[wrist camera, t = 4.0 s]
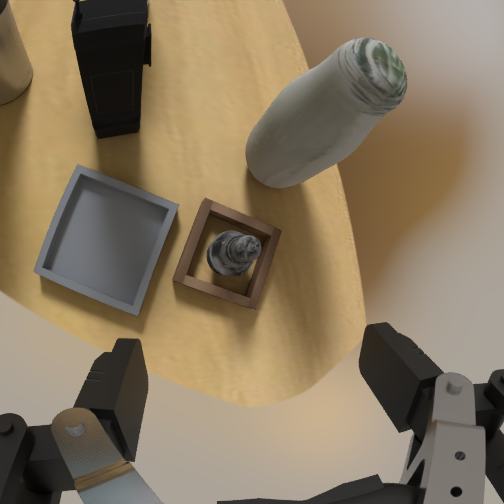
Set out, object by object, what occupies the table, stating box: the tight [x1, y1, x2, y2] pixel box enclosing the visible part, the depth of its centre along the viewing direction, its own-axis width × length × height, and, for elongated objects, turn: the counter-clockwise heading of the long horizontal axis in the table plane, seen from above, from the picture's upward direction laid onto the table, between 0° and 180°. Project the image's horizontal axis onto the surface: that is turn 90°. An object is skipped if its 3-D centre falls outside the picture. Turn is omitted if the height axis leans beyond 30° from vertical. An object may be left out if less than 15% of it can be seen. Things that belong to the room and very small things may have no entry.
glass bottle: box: [246, 38, 407, 188], centre depth 34 cm, size 10×10×28 cm
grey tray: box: [34, 164, 179, 316], centre depth 38 cm, size 15×15×2 cm
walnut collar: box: [173, 198, 282, 310], centre depth 43 cm, size 11×11×2 cm
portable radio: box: [71, 0, 151, 139], centre depth 29 cm, size 8×6×25 cm
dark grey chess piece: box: [207, 230, 261, 277], centre depth 38 cm, size 6×6×12 cm
